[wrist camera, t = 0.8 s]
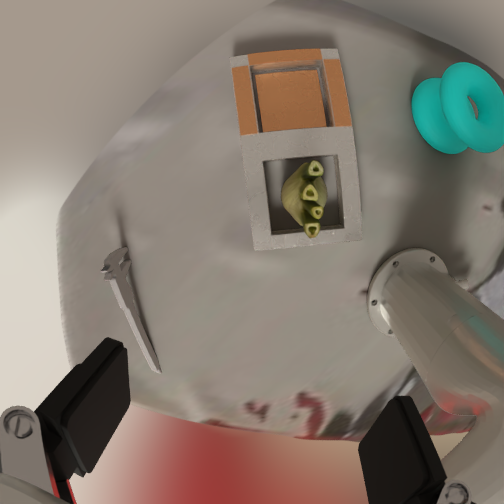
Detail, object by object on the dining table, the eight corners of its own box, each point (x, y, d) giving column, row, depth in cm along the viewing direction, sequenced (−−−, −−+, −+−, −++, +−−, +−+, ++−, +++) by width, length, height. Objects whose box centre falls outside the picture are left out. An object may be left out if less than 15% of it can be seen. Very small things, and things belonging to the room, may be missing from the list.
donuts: (516, 160, 19) (453, 142, 19) (468, 159, 28) (409, 148, 29) (507, 76, 16) (442, 47, 17) (464, 91, 26) (404, 73, 26)
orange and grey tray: (333, 56, 27) (337, 48, 24) (356, 235, 32) (362, 240, 30) (232, 65, 28) (229, 56, 26) (256, 245, 34) (254, 251, 31)
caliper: (122, 246, 36) (96, 259, 30) (128, 245, 36) (103, 259, 30) (156, 371, 41) (142, 396, 35) (162, 371, 41) (148, 397, 35)
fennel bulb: (296, 160, 31) (307, 152, 19) (333, 182, 31) (364, 186, 20) (271, 204, 32) (268, 221, 21) (308, 225, 33) (325, 253, 21)
